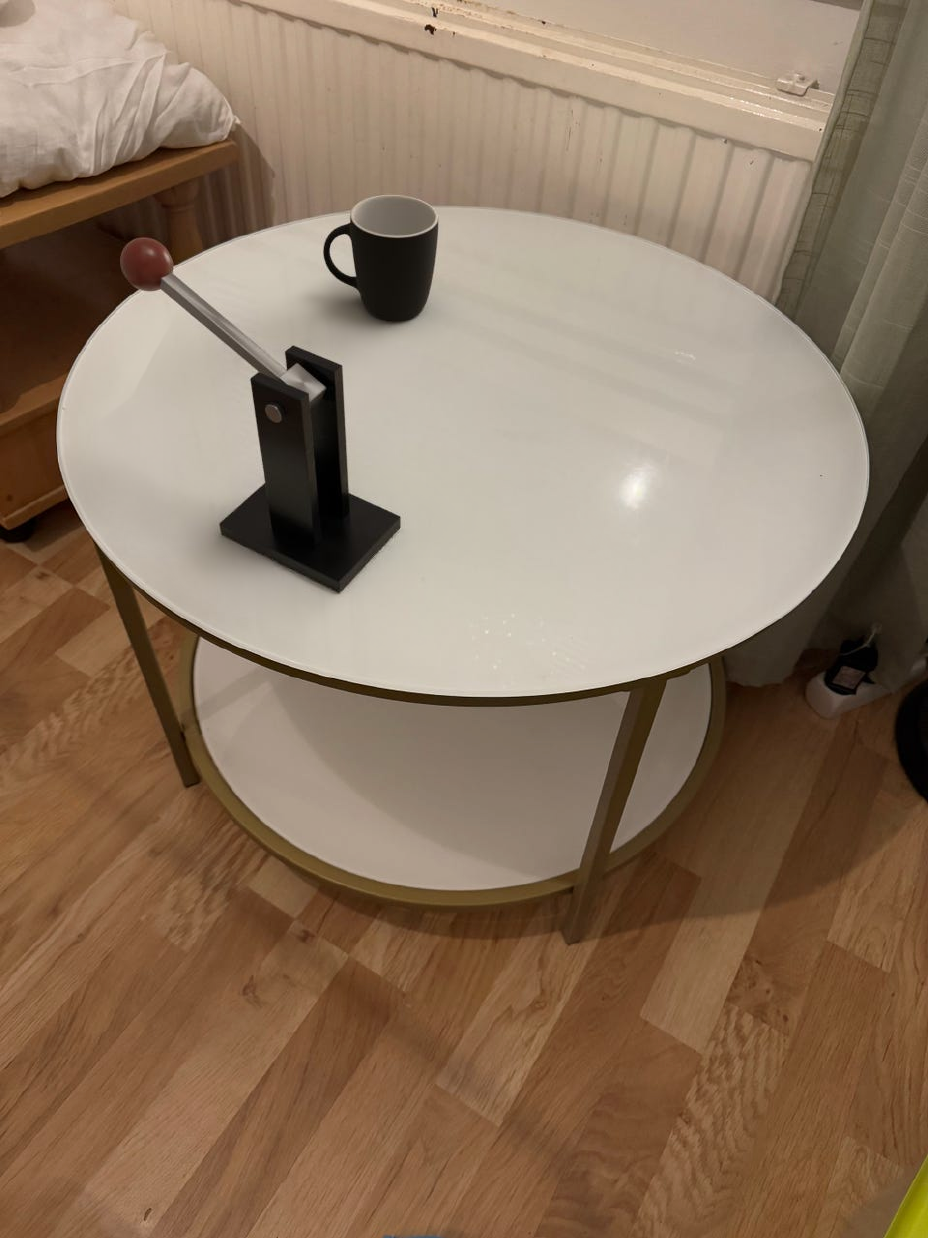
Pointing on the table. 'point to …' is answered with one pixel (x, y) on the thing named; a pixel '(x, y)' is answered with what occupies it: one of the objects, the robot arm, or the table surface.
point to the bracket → (307, 483)
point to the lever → (207, 313)
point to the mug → (390, 254)
